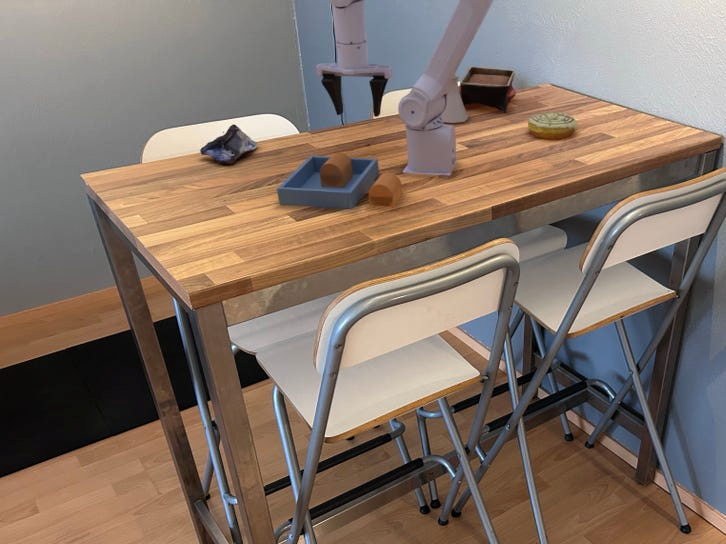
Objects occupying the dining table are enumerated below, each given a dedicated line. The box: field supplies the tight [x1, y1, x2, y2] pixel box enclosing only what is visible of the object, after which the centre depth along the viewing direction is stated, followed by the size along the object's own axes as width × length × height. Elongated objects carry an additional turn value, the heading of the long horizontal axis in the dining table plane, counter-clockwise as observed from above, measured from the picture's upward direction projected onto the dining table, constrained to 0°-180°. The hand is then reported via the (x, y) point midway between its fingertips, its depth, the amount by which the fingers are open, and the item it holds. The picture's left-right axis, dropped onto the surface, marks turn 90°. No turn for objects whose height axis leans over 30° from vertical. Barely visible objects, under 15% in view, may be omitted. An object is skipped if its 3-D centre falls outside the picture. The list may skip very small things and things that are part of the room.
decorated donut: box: [527, 112, 578, 140], centre depth 164 cm, size 10×11×4 cm
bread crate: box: [276, 155, 380, 210], centre depth 137 cm, size 14×17×4 cm
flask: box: [442, 73, 469, 124], centre depth 172 cm, size 7×7×10 cm
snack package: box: [199, 123, 259, 165], centre depth 153 cm, size 12×6×12 cm
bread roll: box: [368, 171, 403, 208], centre depth 133 cm, size 4×6×5 cm
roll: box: [320, 152, 353, 188], centre depth 140 cm, size 4×6×5 cm
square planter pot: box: [458, 66, 517, 113], centre depth 182 cm, size 14×18×10 cm
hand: (358, 114), depth 147 cm, fingers open, 7 cm apart
